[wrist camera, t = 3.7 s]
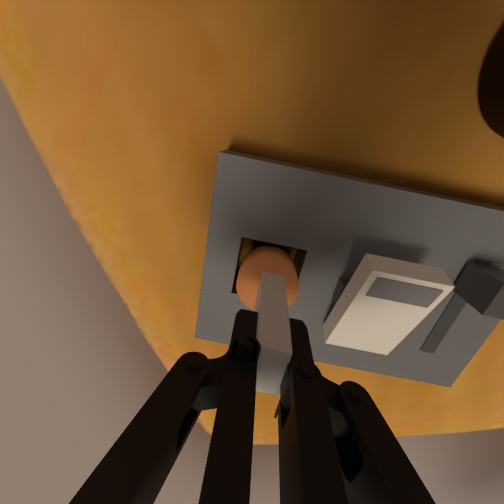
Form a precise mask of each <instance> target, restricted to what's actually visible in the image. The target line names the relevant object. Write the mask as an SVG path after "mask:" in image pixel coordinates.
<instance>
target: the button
mask: <svg viewBox="0 0 504 504" xmlns="http://www.w3.org/2000/svg"><path fill="white" fill-rule="evenodd" d="M262 272H268V273H273V274H278V275H283V276H285V283H286V293H287V303H288V307H289V306H290V305H291V304H292V303H293V302H294V301H295V299H296V297H297V295H298V291H299V282H298V278H297V273H296V268H295V264H294V261H293V259H292V258H291V256H290V255H289V254H288V253H287V252H285V251H284V250H282V249H280V248H279V247H278V246H277V245H276V244H273V243H268V242H263V243H261V244H259V245H258V246H257V248H255V249H253V250H251V251H250V252H249V253H247V254H246V255H245V257H244V258H243V260H242V262H241V265H240V269H239V273H238V278H237V283H236V290H237V294H238V296H239V298H240V300H241V301H242V302H243V303H244V304H245V305H246V306H247V307H248V308H250V309H252V310H254V306H255V301H256V297H257V293H258V288H259V284H260V280H261V276H262Z"/></svg>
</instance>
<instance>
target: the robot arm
mask: <svg viewBox="0 0 504 504" xmlns="http://www.w3.org/2000/svg"><path fill="white" fill-rule="evenodd" d="M308 335H309V334H308V329H307V326H306V325H305V323H304V322H303V320H298V319H293V318H289V313H288V303H287V293H286V283H285V276H283V275H278V274H273V273H268V272H262V276H261V280H260V284H259V288H258V293H257V297H256V301H255V306H254V311H250V310H245V309H240V310H239V311H238V312H237V313H236V316H235V321H234V326H233V331H232V336H231V341H230V346H229V350H228V351H227V353H226V354H225V355H223V356H221V357H219V358H214V359H208V358H207V357H206V356H205V355H204V354H202V353H199V352H188V353H186V354H183V355H182V356H181V357H180V358H179V359H178V360H177V362H176V363H175V364H174V366H173V367H172V368H171V370H170V371H169V372H168V374H167V375H166V376H165V378H164V379H163V380H162V382H161V383H160V384H159V386H158V387H157V388H156V390H155V391H154V392H153V393H152V395H151V396H150V397H149V399H148V400H147V401H146V403H145V404H144V405H143V407H142V408H141V409H140V411H139V412H138V413H137V415H136V416H135V417H134V419H133V420H132V421H131V422H130V424H129V425H128V426H127V428H126V429H125V430H124V432H123V433H122V434H121V436H120V437H119V438H118V439H117V441H116V442H115V443H114V445H113V446H112V447H111V449H110V450H109V452H108V453H107V454H106V455H105V457H104V458H103V459H102V461H101V462H100V463H99V465H98V466H97V467H96V468H95V470H94V471H93V472H92V474H91V475H90V476H89V478H88V479H87V480H86V482H85V483H84V484H83V486H82V487H81V488H80V490H79V491H78V492H77V494H76V495H75V496H74V497H73V499H72V500H71V501H70V503H69V504H153V503H154V501H155V499H156V497H157V495H158V494H159V492H160V490H161V488H162V486H163V484H164V481H165V480H166V478H167V476H168V474H169V472H170V470H171V469H172V467H173V465H174V463H175V461H176V459H177V457H178V455H179V453H180V451H181V449H182V447H183V445H184V443H185V442H186V440H187V438H188V436H189V434H190V432H191V430H192V428H193V426H194V424H195V422H196V420H197V419H198V417H199V415H200V413H201V411H202V410H208V409H215V408H217V411H216V416H215V421H214V427H213V432H212V437H211V442H210V447H209V453H208V457H207V462H206V467H205V473H204V478H203V483H202V489H201V493H200V498H199V503H198V504H249V498H250V481H251V465H252V447H253V430H254V412H255V395H256V391H258V392H263V393H268V394H273V395H278V393H279V390H280V393H281V398H280V400H279V403H278V406H277V409H276V412H275V416H274V418H277V415H278V431H279V474H280V504H435V502H434V500H433V499H432V497H431V495H430V494H429V492H428V490H427V489H426V487H425V486H424V484H423V482H422V481H421V479H420V477H419V476H418V474H417V472H416V471H415V469H414V467H413V466H412V464H411V462H410V461H409V459H408V457H407V456H406V454H405V452H404V451H403V449H402V447H401V446H400V444H399V443H398V441H397V439H396V438H395V436H394V434H393V433H392V431H391V429H390V428H389V426H388V424H387V423H386V421H385V419H384V418H383V416H382V415H381V413H380V411H379V410H378V408H377V406H376V405H375V403H374V401H373V400H372V398H371V396H370V395H369V393H368V392H367V391H366V390H365V389H364V388H363V387H362V386H361V385H359V384H357V383H355V382H352V381H345V382H343V383H342V384H341V385H338V384H336V383H334V382H332V381H330V380H328V379H326V378H325V377H323V376H322V375H321V372H320V370H319V369H318V367H317V366H316V365H315V364H314V360H313V355H312V350H311V345H310V339H309V336H308Z"/></svg>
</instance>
